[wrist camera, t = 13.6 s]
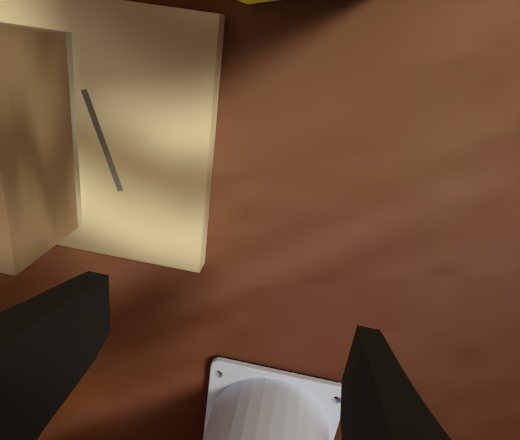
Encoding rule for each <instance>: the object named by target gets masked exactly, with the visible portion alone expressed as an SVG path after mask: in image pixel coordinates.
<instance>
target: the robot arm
mask: <svg viewBox="0 0 520 440" xmlns="http://www.w3.org/2000/svg"><path fill="white" fill-rule="evenodd" d="M109 332H110V309H109V277H108V275H105V274H100V273H95V272H90V271H88V272H86V273H83V274H81V275H79V276H76V277H74V278H72V279H70V280H68V281H66V282H64V283H62V284H60V285H58V286H56V287H53V288H51V289H49V290H47V291H45V292H43V293H41V294H39V295H37V296H35V297H33V298H31V299H28V300H26V301H24V302H22V303H20V304H18V305H16V306H13V307H11V308H9V309H6V310H4V311H2V312H0V440H37V439H38V437H39V436H40V434H41V433H42V431H43V430H44V428H45V427H46V426H47V424H48V423H49V422H50V420H51V419H52V418H53V416H54V415H55V414H56V412H57V411H58V409H59V408H60V407H61V405H62V404H63V403H64V401H65V400H66V399H67V397H68V396H69V395H70V393H71V392H72V390H73V389H74V388H75V386H76V385H77V384H78V382H79V381H80V380H81V378H82V377H83V375H84V374H85V373H86V371H87V370H88V368H89V367H90V366H91V364H92V363H93V361H94V360H95V358H96V356H97V354H98V353H99V351H100V349H101V347H102V345H103V344H104V342H105V340H106V338H107V336H108V334H109ZM217 371H220V372H221V373H219V372H217ZM334 397H339V398H334ZM340 418H341V432H342V440H451V439H450V437H449V436H448V435H447V433H446V432H445V431H444V430H443V428H442V427H441V426H440V424H439V423H438V422H437V420H436V419H435V417H434V416H433V415H432V413H431V412H430V410H429V409H428V408H427V406H426V405H425V403H424V402H423V400H422V399H421V397H420V396H419V394H418V393H417V391H416V389H415V388H414V386H413V385H412V383H411V382H410V380H409V379H408V377H407V375H406V374H405V372H404V370H403V369H402V367H401V365H400V364H399V362H398V360H397V359H396V357H395V355H394V353H393V352H392V350H391V348H390V346H389V345H388V343H387V341H386V339H385V338H384V336H383V334H382V333H381V331H380V330H377V329H372V328H367V327H362V326H357V329H356V332H355V336H354V339H353V343H352V346H351V350H350V353H349V357H348V360H347V364H346V367H345V371H344V374H343V378H342V383H338V382H333V381H329V380H324V379H319V378H315V377H310V376H306V375H301V374H296V373H292V372H287V371H282V370H278V369H273V368H268V367H264V366H259V365H254V364H250V363H245V362H240V361H236V360H231V359H226V358H222V357H217V358H214V359H213V361H212V363H211V368H210V377H209V387H208V397H207V406H206V416H205V426H204V436H203V440H334V437H335V434H336V430H337V427H338V424H339V420H340Z"/></svg>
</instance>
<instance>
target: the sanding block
mask: <svg viewBox="0 0 520 440" xmlns="http://www.w3.org/2000/svg"><path fill="white" fill-rule="evenodd" d="M81 225H82V209H81V192H80V175H79V158H78V140H77V123H76V106H75V89H74V72H73V55H72V38H71V32H66V31H60V30H53V29H46V28H40V27H33V26H27V25H20V24H13V23H7V22H0V273H4V274H9V275H14V276H16V275H18V274H19V273H20V272H22V271H23V270H24V269H25V268H27V267H28V266H29V265H31V264H32V263H33V262H34V261H36V260H37V259H38V258H40V257H41V256H42V255H43V254H45V253H46V252H47V251H49V250H50V249H51V248H52V247H54V246H55V245H56V244H58V243H59V242H60V241H61V240H63V239H64V238H65V237H67V236H68V235H69V234H70V233H72V232H73V231H74V230H76V229H77V228H78V227H79V226H81Z"/></svg>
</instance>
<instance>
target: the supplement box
mask: <svg viewBox="0 0 520 440" xmlns="http://www.w3.org/2000/svg"><path fill="white" fill-rule="evenodd" d="M238 1H240V2H243V3H245V4H249V5H254V4H262V3H269V2H277V1H284V0H238Z"/></svg>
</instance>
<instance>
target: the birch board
mask: <svg viewBox="0 0 520 440" xmlns="http://www.w3.org/2000/svg"><path fill="white" fill-rule="evenodd" d="M0 22H7V23H13V24H20V25H27V26H33V27H40V28H46V29H53V30H60V31H66V32H71V38H72V55H73V72H74V89H75V106H76V123H77V140H78V158H79V175H80V192H81V209H82V225H81V226H79V227H78V228H77V229H76V230H74V231H73V232H72V233H70V234H69V235H68V236H67V237H65V238H64V239H63V240H61V241H60V242H59V243H58V244H56V245H61V246H66V247H71V248H76V249H81V250H86V251H91V252H96V253H101V254H106V255H111V256H116V257H121V258H127V259H132V260H137V261H142V262H147V263H152V264H157V265H162V266H167V267H172V268H177V269H182V270H187V271H192V272H197V273H200V271H201V269H202V267H203V265H204V263H205V253H206V241H207V229H208V217H209V205H210V193H211V181H212V169H213V157H214V145H215V133H216V121H217V109H218V97H219V85H220V73H221V61H222V49H223V37H224V25H225V15H224V14H218V13H211V12H204V11H196V10H189V9H182V8H175V7H168V6H161V5H154V4H147V3H140V2H133V1H126V0H0Z"/></svg>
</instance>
